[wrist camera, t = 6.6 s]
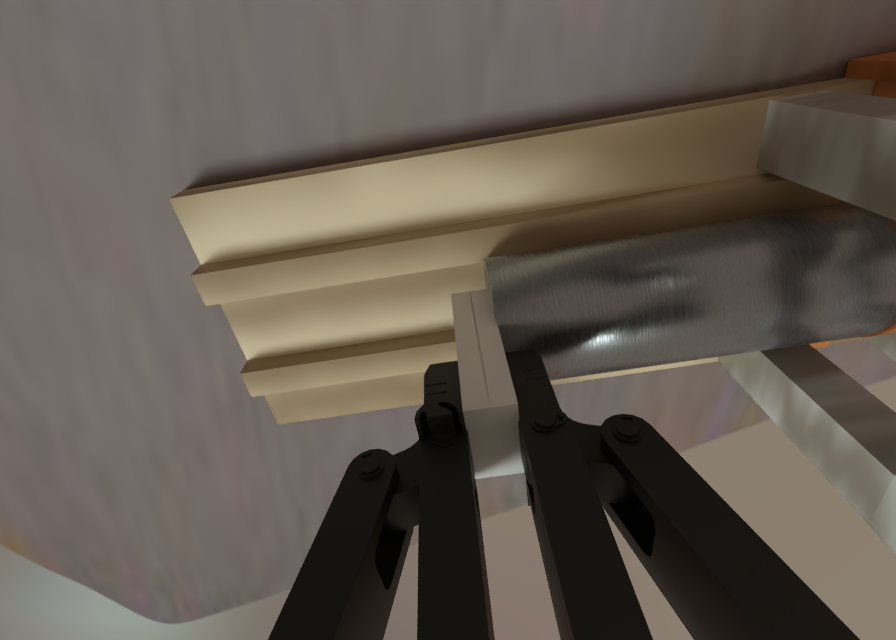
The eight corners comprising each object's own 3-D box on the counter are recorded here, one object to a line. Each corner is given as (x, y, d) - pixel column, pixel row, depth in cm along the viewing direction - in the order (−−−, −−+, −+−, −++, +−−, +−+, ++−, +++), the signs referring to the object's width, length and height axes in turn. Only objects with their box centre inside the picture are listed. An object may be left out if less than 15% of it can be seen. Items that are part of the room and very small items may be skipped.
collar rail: (176, 175, 18) (-142, 343, 8) (1061, 22, 16) (2064, -9, 6) (284, 408, 25) (185, 661, 15) (924, 315, 23) (1309, 528, 13)
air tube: (491, 338, 21) (508, 416, 17) (479, 236, 18) (495, 299, 14) (940, 271, 20) (1079, 338, 16) (998, 153, 17) (1186, 195, 13)
